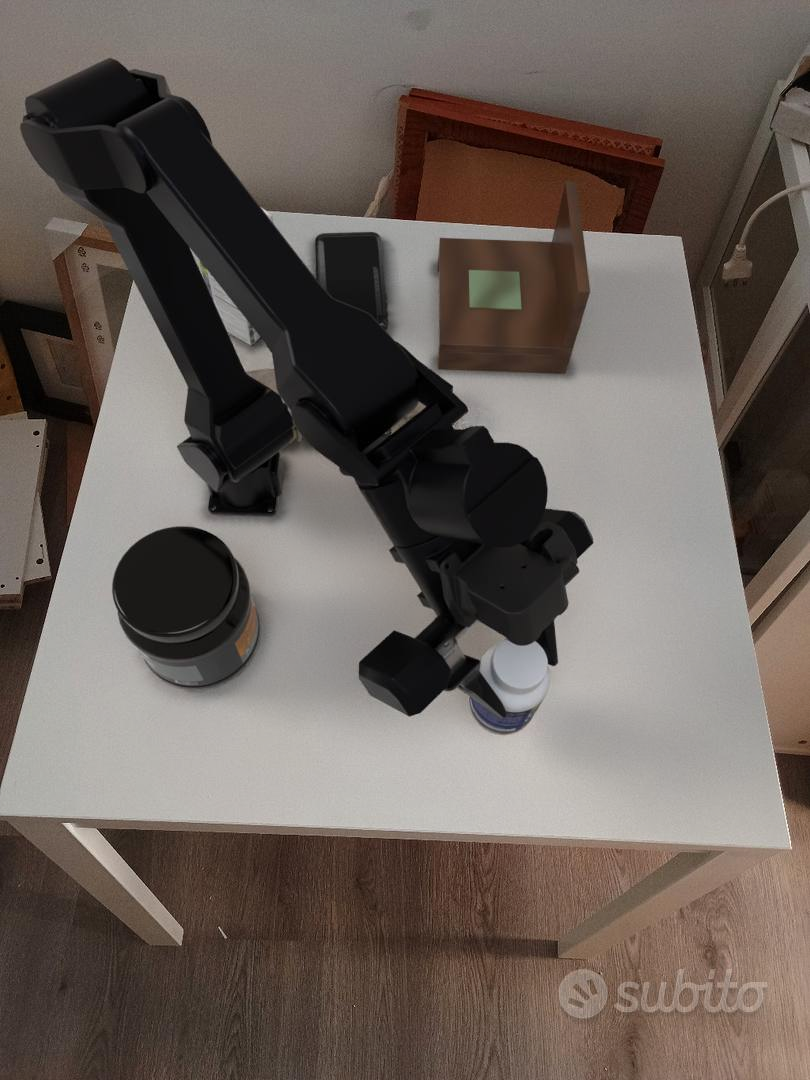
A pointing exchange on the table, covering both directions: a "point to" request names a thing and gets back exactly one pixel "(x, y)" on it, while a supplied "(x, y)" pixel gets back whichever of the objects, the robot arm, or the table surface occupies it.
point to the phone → (353, 271)
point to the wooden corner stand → (514, 298)
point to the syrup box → (231, 308)
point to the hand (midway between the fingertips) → (527, 689)
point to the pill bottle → (513, 685)
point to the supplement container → (187, 607)
